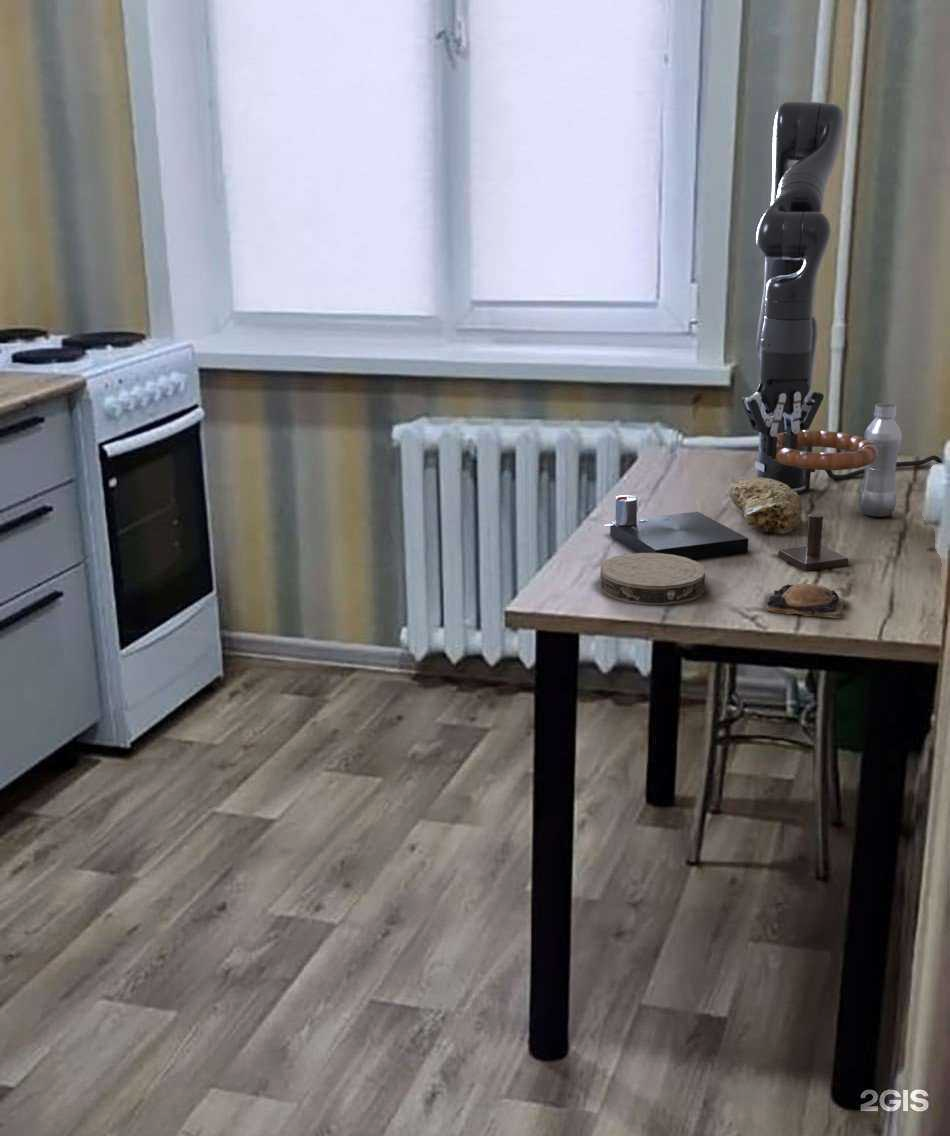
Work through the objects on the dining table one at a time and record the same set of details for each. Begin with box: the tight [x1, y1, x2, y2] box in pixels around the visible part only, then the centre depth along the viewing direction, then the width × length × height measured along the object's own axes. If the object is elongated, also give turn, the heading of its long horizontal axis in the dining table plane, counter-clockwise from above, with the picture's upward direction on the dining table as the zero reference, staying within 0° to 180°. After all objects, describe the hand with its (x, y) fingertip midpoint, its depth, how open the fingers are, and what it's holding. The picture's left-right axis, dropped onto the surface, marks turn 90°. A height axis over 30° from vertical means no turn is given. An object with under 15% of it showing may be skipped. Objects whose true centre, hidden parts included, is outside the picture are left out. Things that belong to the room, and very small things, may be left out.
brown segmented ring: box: [774, 430, 878, 471], centre depth 215 cm, size 17×17×3 cm
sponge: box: [729, 477, 804, 535], centre depth 242 cm, size 13×8×20 cm
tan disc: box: [599, 552, 706, 606], centre depth 209 cm, size 16×16×3 cm
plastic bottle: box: [858, 402, 903, 518], centre depth 241 cm, size 6×7×20 cm
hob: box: [604, 511, 749, 561], centre depth 230 cm, size 19×19×3 cm
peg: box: [777, 512, 850, 572], centre depth 219 cm, size 8×8×8 cm
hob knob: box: [614, 494, 638, 526], centre depth 232 cm, size 4×4×5 cm
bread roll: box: [765, 582, 846, 619], centre depth 200 cm, size 11×8×4 cm
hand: (779, 457), depth 212 cm, fingers closed on brown segmented ring, 2 cm apart
